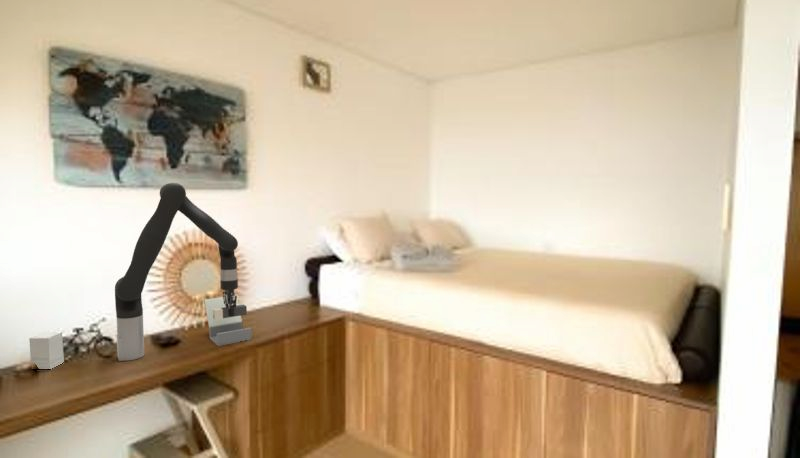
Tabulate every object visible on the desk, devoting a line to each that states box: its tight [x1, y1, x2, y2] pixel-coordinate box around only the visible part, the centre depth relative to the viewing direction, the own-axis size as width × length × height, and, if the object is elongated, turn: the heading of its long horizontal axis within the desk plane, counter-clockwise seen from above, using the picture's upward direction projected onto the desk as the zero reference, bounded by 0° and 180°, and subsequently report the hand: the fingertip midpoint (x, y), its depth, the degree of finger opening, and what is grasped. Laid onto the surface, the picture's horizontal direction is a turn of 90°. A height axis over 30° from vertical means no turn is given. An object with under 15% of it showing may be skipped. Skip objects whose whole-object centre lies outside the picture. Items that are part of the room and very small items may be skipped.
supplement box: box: [28, 331, 65, 370], centre depth 169 cm, size 7×7×13 cm
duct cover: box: [204, 294, 243, 327], centre depth 212 cm, size 15×13×1 cm
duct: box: [208, 321, 253, 347], centre depth 204 cm, size 15×13×5 cm
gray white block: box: [213, 304, 248, 320], centre depth 203 cm, size 4×14×4 cm, turn 128°
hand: (230, 315), depth 203 cm, fingers closed on gray white block, 4 cm apart
